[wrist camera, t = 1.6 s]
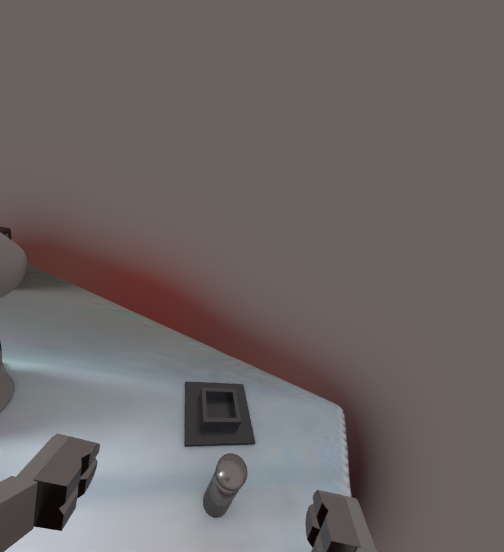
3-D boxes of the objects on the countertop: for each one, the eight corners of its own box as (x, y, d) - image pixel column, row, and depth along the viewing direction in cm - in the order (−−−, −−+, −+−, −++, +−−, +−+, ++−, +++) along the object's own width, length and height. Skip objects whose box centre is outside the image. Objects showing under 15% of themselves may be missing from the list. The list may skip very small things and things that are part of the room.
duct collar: (184, 446, 56) (187, 438, 55) (185, 383, 70) (187, 375, 69) (254, 444, 62) (258, 436, 60) (242, 385, 75) (245, 378, 74)
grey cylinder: (202, 521, 47) (218, 489, 42) (201, 485, 51) (215, 453, 47) (231, 517, 48) (250, 486, 44) (228, 483, 53) (244, 452, 48)
